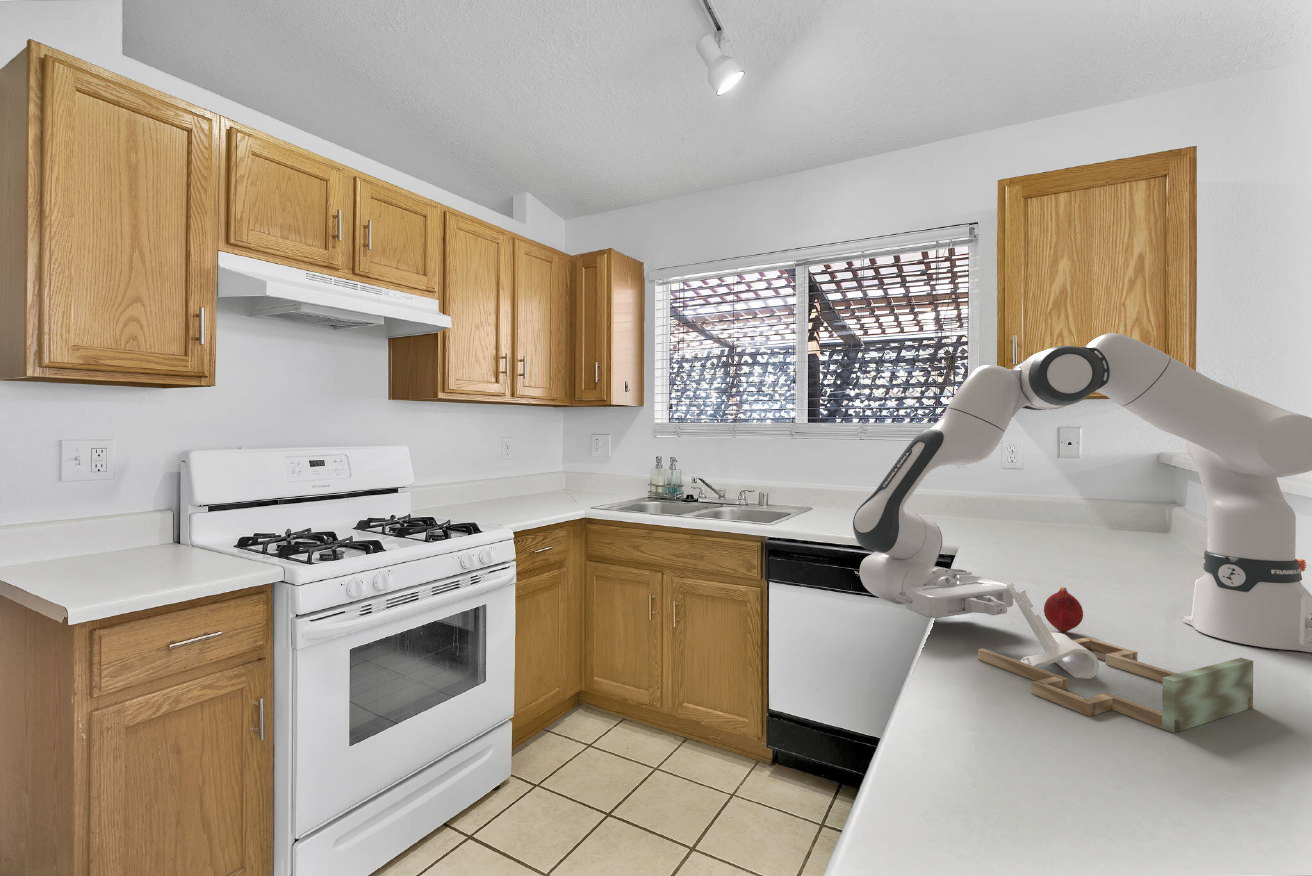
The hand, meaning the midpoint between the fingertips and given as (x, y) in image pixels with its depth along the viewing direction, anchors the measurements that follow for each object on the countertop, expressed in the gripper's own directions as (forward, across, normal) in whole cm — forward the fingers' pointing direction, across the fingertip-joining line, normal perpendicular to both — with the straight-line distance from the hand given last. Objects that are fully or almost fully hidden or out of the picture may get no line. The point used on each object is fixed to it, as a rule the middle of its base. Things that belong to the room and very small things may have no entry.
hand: (1001, 609), depth 101 cm
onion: (-1, +17, +6) cm, 18 cm away
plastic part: (+9, -2, +6) cm, 11 cm away
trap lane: (+16, 0, +6) cm, 17 cm away
